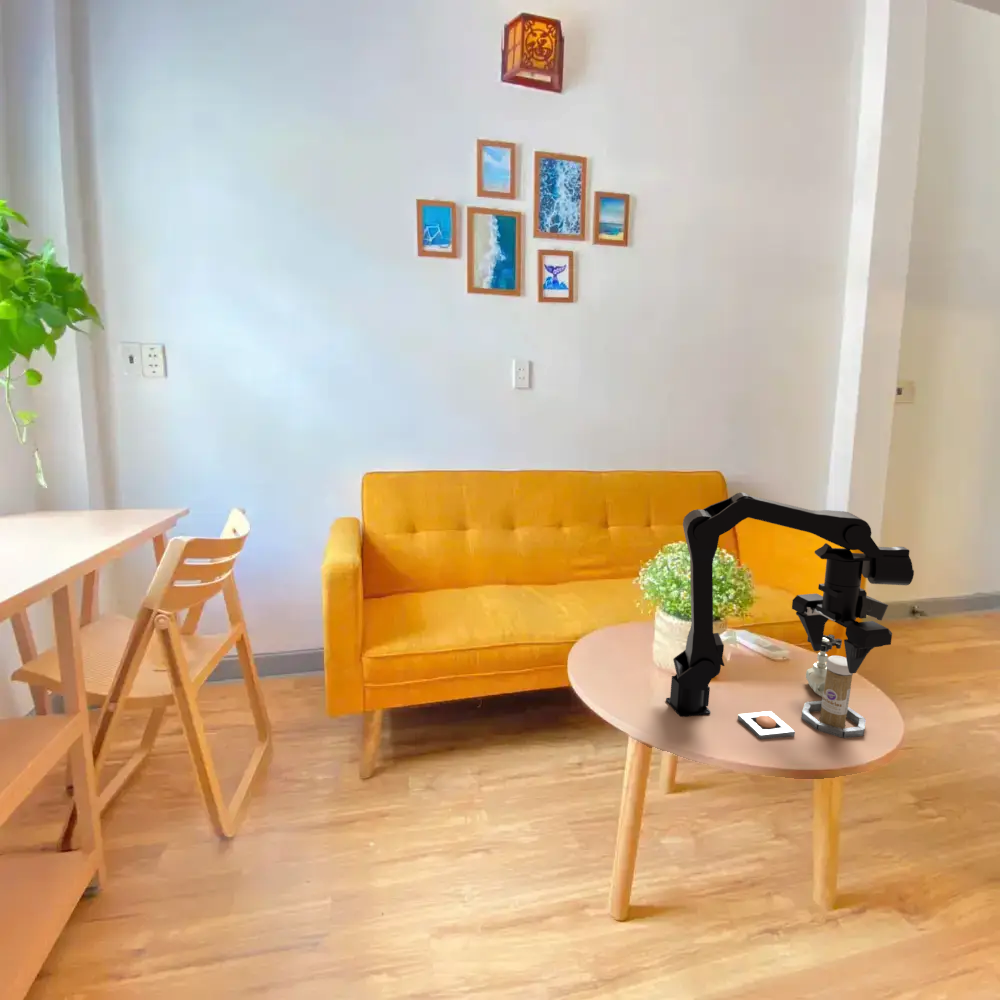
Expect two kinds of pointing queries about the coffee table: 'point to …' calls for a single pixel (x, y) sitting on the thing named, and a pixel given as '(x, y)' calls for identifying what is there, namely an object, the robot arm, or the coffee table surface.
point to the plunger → (765, 722)
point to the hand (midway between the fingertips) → (833, 661)
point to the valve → (821, 664)
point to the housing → (777, 732)
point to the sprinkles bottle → (836, 692)
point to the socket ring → (833, 730)
